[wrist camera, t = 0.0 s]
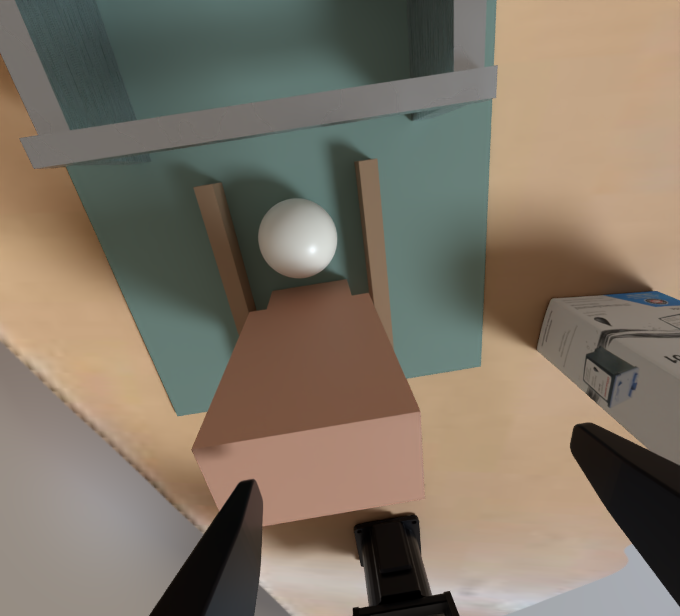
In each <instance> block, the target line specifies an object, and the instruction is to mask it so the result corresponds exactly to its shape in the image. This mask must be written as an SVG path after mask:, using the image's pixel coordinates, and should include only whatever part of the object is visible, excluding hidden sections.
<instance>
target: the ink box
mask: <svg viewBox="0 0 680 616" xmlns="http://www.w3.org/2000/svg"><path fill="white" fill-rule="evenodd" d="M537 351H538V352H539V353H541V354H542V355H543V356H544V357H545V358H546V359H547V360H548V361H550V362H551V363H552V364H553V365H554V366H555V367H556V368H558V369H559V370H560V371H561V372H562V373H563V374H564V375H566V376H567V377H568V378H569V379H570V380H571V381H572V382H573V383H575V384H576V385H577V386H578V387H579V388H580V389H581V390H583V391H584V392H585V393H586V394H587V395H588V396H589V397H590V398H591V399H592V400H594V401H595V402H596V403H597V404H598V405H599V406H600V407H602V408H603V409H604V410H605V411H606V412H607V413H608V414H609V415H610V416H612V417H613V418H614V419H615V420H616V421H617V422H618V423H619V424H621V425H622V426H623V427H624V428H625V429H626V430H627V431H628V432H630V433H631V434H632V435H633V436H634V437H635V438H636V439H637V440H639V441H640V442H641V443H642V444H643V445H644V446H646V447H647V448H648V449H649V450H650V451H651V452H654V453H656V454H658V455H660V456H662V457H664V458H666V459H668V460H670V461H672V462H674V463H676V464H678V465H680V300H677V299H675V298H672V297H670V296H668V295H665V294H663V293H660V292H658V291H650V292H637V293H623V294H611V295H599V296H583V297H568V298H554V299H551V301H550V303H549V306H548V308H547V311H546V315H545V318H544V321H543V325H542V329H541V333H540V337H539V342H538V346H537Z"/></svg>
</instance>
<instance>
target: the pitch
mask: <svg viewBox="0 0 680 616" xmlns="http://www.w3.org/2000/svg"><path fill="white" fill-rule="evenodd" d="M96 3H97V6H98V9H99V12H100V15H101V18H102V20H103V23H104V26H105V29H106V32H107V35H108V38H109V41H110V44H111V46H112V49H113V52H114V55H115V58H116V61H117V64H118V67H119V70H120V72H121V75H122V78H123V81H124V84H125V87H126V90H127V93H128V96H129V98H130V101H131V104H132V107H133V110H134V113H135V116H136V119H137V120H142V119H148V118H155V117H162V116H168V115H175V114H181V113H188V112H194V111H201V110H207V109H214V108H221V107H227V106H234V105H240V104H247V103H253V102H260V101H266V100H273V99H279V98H286V97H293V96H299V95H306V94H312V93H319V92H325V91H332V90H338V89H345V88H352V87H358V86H365V85H371V84H378V83H384V82H391V81H397V80H404V79H410V67H409V44H408V22H407V0H96ZM495 22H496V0H487V3H486V33H485V64H484V67H489V66H494V46H495ZM491 116H492V99H491V100H488V101H485V102H481V103H475V104H469V105H467V106H464V107H461V108H459V109H456V110H453V111H451V112H448V113H445V114H443V115H440V116H437V117H435V118H431V119H424V120H418V121H412V113H410V114H403V115H397V116H390V117H384V118H377V119H371V120H364V121H358V122H351V123H345V124H338V125H332V126H325V127H319V128H312V129H306V130H299V131H293V132H286V133H280V134H273V135H267V136H260V137H254V138H247V139H241V140H235V141H228V142H222V143H215V144H209V145H202V146H196V147H189V148H183V149H176V150H170V151H163V152H157V153H150V154H149V156H150V159H151V162H146V163H140V164H133V165H72V166H66V168H67V170H68V173H69V175H70V177H71V179H72V181H73V184H74V186H75V188H76V190H77V193H78V195H79V197H80V199H81V202H82V204H83V206H84V208H85V211H86V213H87V215H88V217H89V219H90V222H91V224H92V226H93V228H94V231H95V233H96V235H97V237H98V240H99V242H100V244H101V246H102V249H103V251H104V253H105V255H106V257H107V260H108V262H109V264H110V266H111V269H112V271H113V273H114V275H115V278H116V280H117V282H118V284H119V286H120V289H121V291H122V293H123V295H124V298H125V300H126V302H127V304H128V307H129V309H130V311H131V313H132V316H133V318H134V320H135V322H136V324H137V327H138V329H139V331H140V333H141V336H142V338H143V340H144V342H145V345H146V347H147V349H148V351H149V354H150V356H151V358H152V360H153V362H154V365H155V367H156V369H157V371H158V374H159V376H160V378H161V380H162V383H163V385H164V387H165V389H166V392H167V394H168V396H169V398H170V400H171V403H172V405H173V407H174V409H175V412H176V414H177V416H183V415H189V414H195V413H201V412H207V411H208V409H209V407H210V404H211V402H212V400H213V397H214V395H215V393H216V390H217V388H218V385H219V383H220V381H221V378H222V376H223V374H224V371H225V369H226V367H227V364H228V362H229V359H230V357H231V355H232V352H233V350H234V348H235V345H236V343H237V340H238V338H239V336H240V333H241V331H242V329H243V326H244V324H245V322H246V319H247V317H248V314H249V312H253V311H259V310H266V309H267V306H268V303H269V300H270V297H271V294H272V291H275V290H281V289H288V288H294V287H300V286H306V285H313V284H319V283H325V282H331V281H338V280H344V279H347V281H348V285H349V288H350V292H351V295H359V294H365V293H369V295H370V297H371V299H372V302H373V304H374V306H375V308H376V311H377V313H378V315H379V318H380V320H381V322H382V325H383V327H384V329H385V331H386V334H387V336H388V338H389V341H390V343H391V345H392V347H393V350H394V352H395V354H396V357H397V359H398V361H399V364H400V366H401V368H402V370H403V373H404V375H405V377H406V379H407V378H413V377H419V376H425V375H431V374H437V373H443V372H450V371H456V370H462V369H468V368H474V367H480V366H481V349H482V326H483V303H484V279H485V256H486V232H487V209H488V186H489V162H490V139H491ZM293 198H301V199H307V200H310V201H312V202H314V203H316V204H318V205H319V206H321V207H322V208H323V209H324V210H325V211H326V212H327V213H328V214H329V215H330V217H331V218H332V220H333V222H334V225H335V228H336V232H337V247H336V251H335V254H334V256H333V258H332V260H331V261H330V263H329V264H328V265H327V266H326V267H325V268H324V269H323V270H322V271H321V272H319V273H317V274H316V275H313V276H311V277H307V278H291V277H287V276H284V275H282V274H280V273H278V272H276V271H275V270H274V269H273V268H271V267H270V266H269V264H268V263H267V262H266V261H265V259H264V257H263V255H262V253H261V251H260V247H259V242H258V232H259V227H260V224H261V221H262V219H263V217H264V216H265V214H266V213H267V212H268V211H269V210H270V209H271V208H272V207H273V206H274V205H276V204H277V203H279V202H281V201H284V200H287V199H293Z"/></svg>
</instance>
